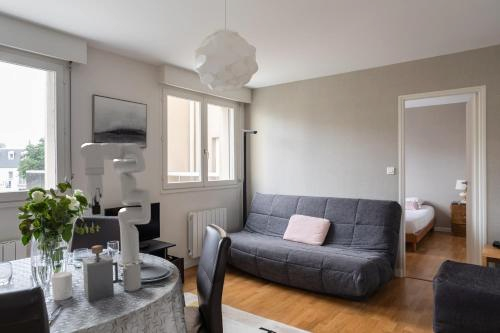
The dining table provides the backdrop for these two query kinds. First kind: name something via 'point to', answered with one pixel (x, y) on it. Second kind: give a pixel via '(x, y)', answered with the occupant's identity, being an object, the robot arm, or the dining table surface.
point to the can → (132, 276)
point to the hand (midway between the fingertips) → (96, 214)
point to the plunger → (97, 250)
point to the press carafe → (99, 277)
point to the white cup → (62, 285)
